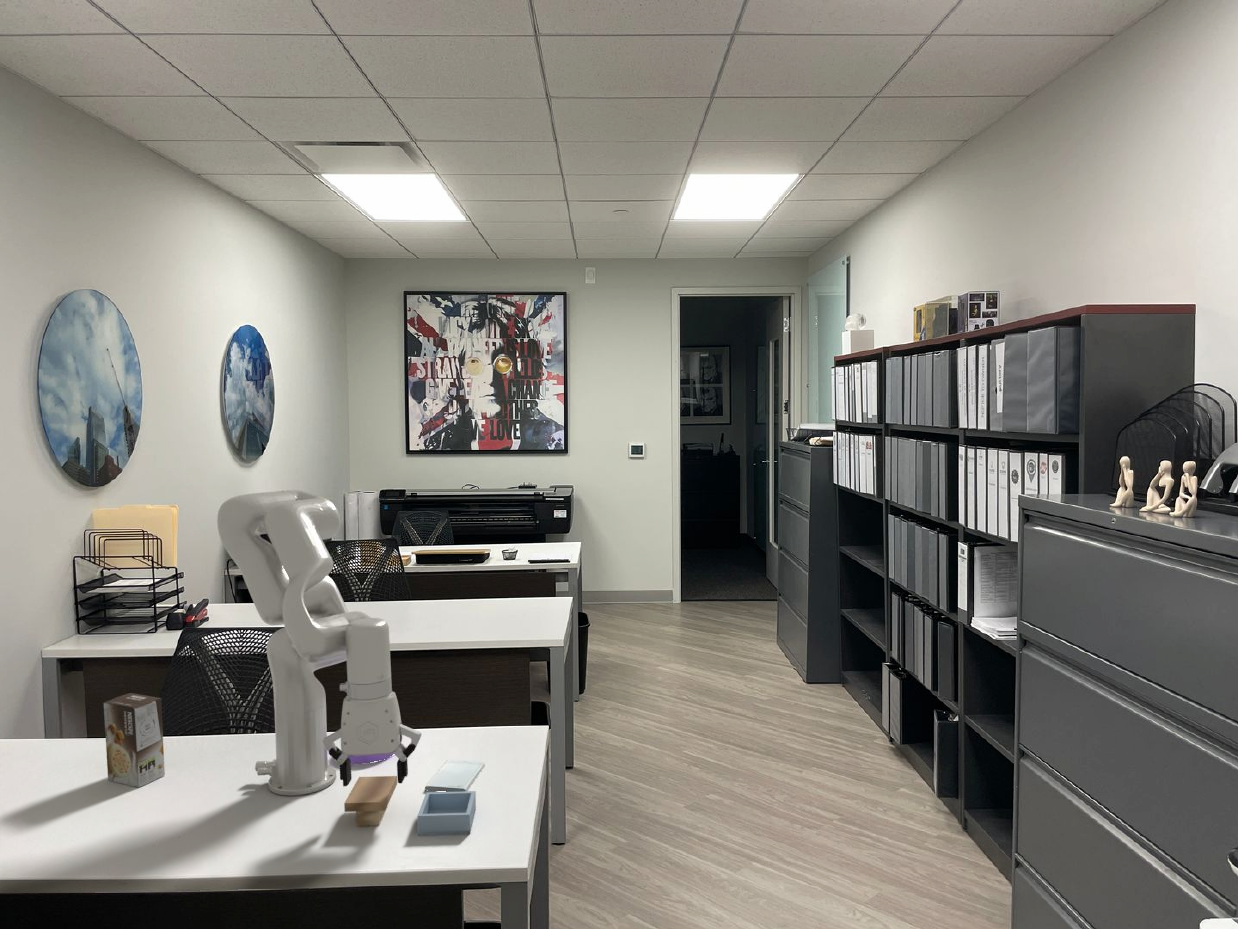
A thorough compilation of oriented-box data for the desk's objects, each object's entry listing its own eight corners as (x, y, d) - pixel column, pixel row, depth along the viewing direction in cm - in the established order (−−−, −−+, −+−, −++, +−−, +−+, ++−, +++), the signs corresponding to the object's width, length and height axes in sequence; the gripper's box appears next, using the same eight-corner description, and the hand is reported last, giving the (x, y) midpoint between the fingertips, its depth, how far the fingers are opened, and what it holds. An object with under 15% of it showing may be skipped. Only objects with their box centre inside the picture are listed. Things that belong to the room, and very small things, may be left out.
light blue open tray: (417, 835, 149) (417, 816, 149) (426, 811, 158) (426, 792, 158) (470, 834, 150) (469, 814, 150) (475, 809, 159) (475, 791, 159)
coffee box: (166, 775, 174) (163, 697, 173) (138, 788, 168) (134, 708, 167) (134, 768, 177) (130, 691, 176) (105, 780, 171) (101, 702, 170)
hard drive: (465, 789, 165) (484, 761, 177) (424, 786, 166) (446, 759, 178) (465, 797, 165) (484, 769, 177) (424, 794, 166) (446, 766, 179)
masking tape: (407, 744, 190) (407, 727, 189) (384, 766, 178) (383, 748, 178) (357, 741, 192) (357, 724, 191) (331, 762, 180) (331, 744, 180)
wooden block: (356, 826, 153) (355, 807, 152) (365, 807, 160) (365, 789, 159) (379, 825, 153) (378, 806, 153) (387, 807, 160) (387, 788, 160)
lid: (344, 812, 151) (344, 803, 151) (359, 785, 161) (359, 777, 161) (385, 810, 151) (384, 802, 151) (397, 784, 161) (397, 776, 161)
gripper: (314, 697, 150) (319, 793, 151) (414, 692, 151) (419, 788, 152) (327, 684, 158) (331, 776, 159) (422, 679, 159) (426, 771, 159)
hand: (374, 782), depth 155 cm, fingers open, 9 cm apart
